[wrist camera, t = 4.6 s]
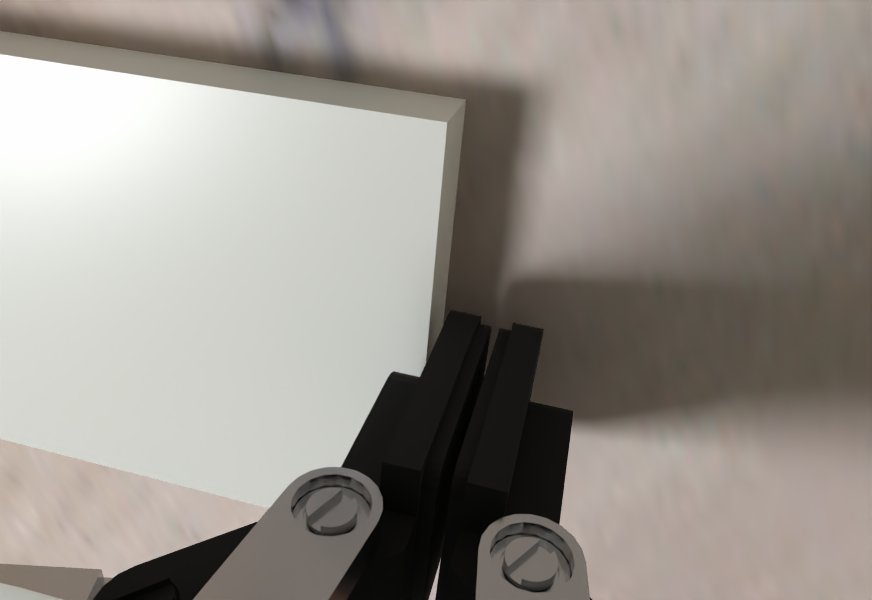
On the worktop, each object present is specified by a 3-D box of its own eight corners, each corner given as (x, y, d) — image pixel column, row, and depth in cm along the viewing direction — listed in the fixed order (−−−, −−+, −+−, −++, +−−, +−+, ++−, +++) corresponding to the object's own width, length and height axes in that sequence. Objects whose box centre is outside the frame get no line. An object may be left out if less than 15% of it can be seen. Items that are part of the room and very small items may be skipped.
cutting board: (-289, -21, 14) (-412, -9, 13) (474, 89, 12) (447, 122, 10) (-136, 340, 19) (-211, 383, 17) (433, 477, 16) (410, 544, 15)
